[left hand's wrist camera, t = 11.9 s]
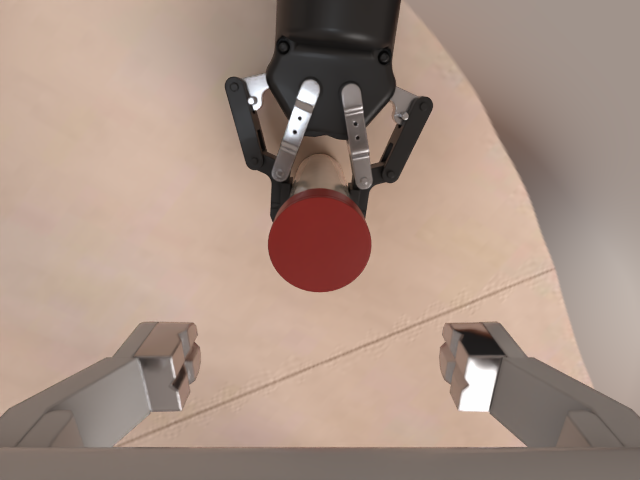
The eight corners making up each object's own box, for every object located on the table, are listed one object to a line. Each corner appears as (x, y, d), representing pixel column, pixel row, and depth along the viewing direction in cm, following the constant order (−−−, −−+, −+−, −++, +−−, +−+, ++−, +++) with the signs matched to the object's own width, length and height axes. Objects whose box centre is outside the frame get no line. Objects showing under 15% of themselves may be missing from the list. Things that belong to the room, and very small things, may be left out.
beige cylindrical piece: (340, 150, 31) (358, 196, 17) (345, 197, 33) (366, 276, 18) (292, 157, 31) (268, 208, 17) (300, 203, 33) (284, 286, 19)
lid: (362, 181, 18) (366, 190, 16) (370, 269, 20) (375, 286, 18) (264, 195, 18) (258, 204, 16) (281, 281, 20) (278, 298, 18)
